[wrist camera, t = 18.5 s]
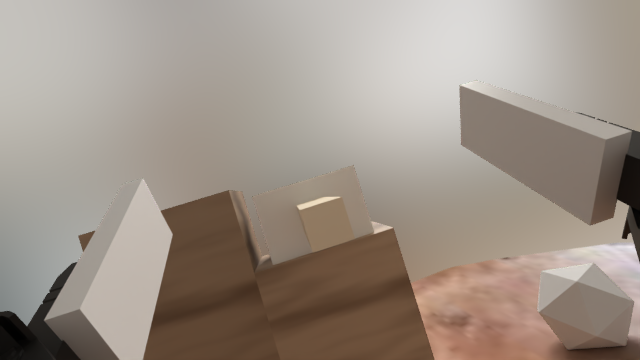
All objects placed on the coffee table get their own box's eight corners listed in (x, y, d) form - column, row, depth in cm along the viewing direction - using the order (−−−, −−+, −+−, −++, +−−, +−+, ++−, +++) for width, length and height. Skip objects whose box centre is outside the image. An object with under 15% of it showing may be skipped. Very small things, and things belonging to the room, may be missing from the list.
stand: (465, 460, 30) (368, 147, 30) (178, 574, 28) (78, 235, 28) (428, 404, 38) (351, 158, 38) (203, 489, 36) (125, 226, 36)
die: (633, 323, 42) (555, 258, 47) (680, 312, 34) (580, 236, 39) (581, 372, 41) (507, 300, 46) (617, 373, 33) (523, 286, 38)
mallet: (421, 251, 20) (388, 148, 20) (263, 304, 19) (230, 196, 19) (360, 226, 37) (343, 170, 37) (275, 253, 36) (258, 196, 36)
